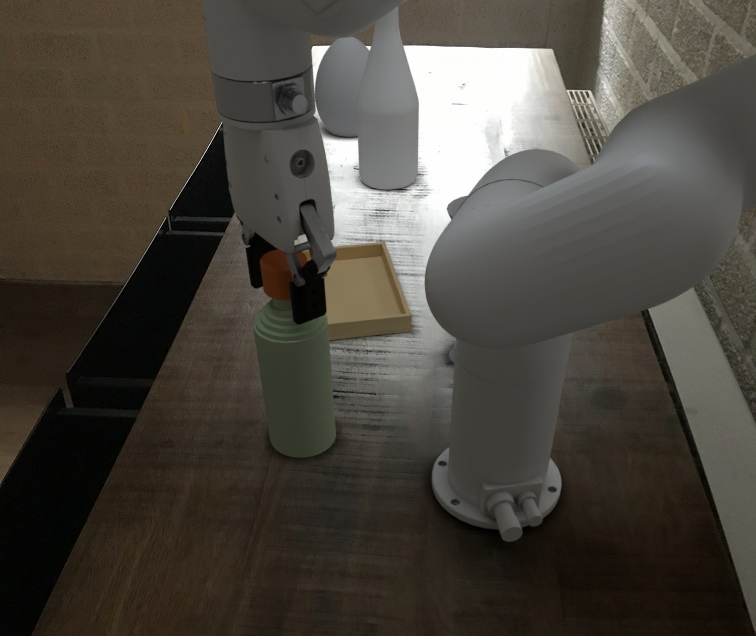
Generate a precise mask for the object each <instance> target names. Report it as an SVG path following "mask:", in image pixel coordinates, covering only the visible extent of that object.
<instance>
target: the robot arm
mask: <svg viewBox="0 0 756 636" xmlns="http://www.w3.org/2000/svg"><path fill="white" fill-rule="evenodd" d="M407 1H408V0H200V4H201V12H202V20H203V25H204V31H205V38H206V44H207V50H208V58H209V65H210V71H211V77H212V78H211V79H212V83H213V90H214V98H215V103H216V110H217V117H218V120H219V121H220V122H222V130H223V131H222V132H223V144H224V156H225V164H226V165H225V167H226V175H227V181H228V192H229V194H230V200H231V203H232V208H233V211H234V213H235V216H236V218H237V220H238V221H239V223H240V226H241V227H242V228H241V240H242V242H243V244H244V245H245V246H246V247H245V256H246V261H247V268H248V275H249V276H248V277H249V283H250V286H251V287H252V288H253V289H255V290H258V289H260V288H263V281H262V274H261V266H260V259H261V258H262V256H263V255H265V254H266V253H268V252H270V251H273V250H277V249H279V250H281V251H283V252H285V256H286V259H287V262H288V265H289V268H290V271H291V274H292V277H293V280H294V281H292V282H290V283H289V287H290V297H291V306H292V315H293V321H294V322H295V323H296V324H298V325H300V324H303V323H306V322H308V321H311V320H313V319H316V318H319V317H321V316H324V315H325V314H326V312H327V308H326V294H325V281H324V277H326V276H327V272H328V271H329V269H330V266H331V264H332V263H333V261H334V260H335V259H336V256H337V254H336V250H335V248H334V247H335V246H334V244H333V240H334V238H335V233H336V232H335V217H334V215H335V214H334V205H333V196H332V188H331V179H330V173H329V165H328V158H327V154H326V149H325V143H324V138H323V135H322V130H321V127H320V123H319V118H317V117H316V115H315V114H316V111H317V107H316V102H315V78H314V77H315V76H314V65H313V52H312V51H313V50H312V36H311V35H315V36H319V37H323V38H329V39H339V38H346V37H354V36H356V35H359V34H361V33H363V32H365V31H366V30H368V29H369V28H371V27H373V25H375V23H376V22H377V21H379V20H380V19H382V18H383V17H384V16H386V15H387V14H388V13H390V12H391V11H392V10H394V9H395V8H396V7H398V8H399V6H401V5H402V4H404V3H406V2H407ZM466 196H467V197H466V199H465V200H464V201H463V203H462V204H461V206H460V208H459V209H458V211H457V213H456V214H455V216H454V217H453V218H452V220H451V219H450V221H449V222H448V224H447V225H446V226H445V227H444V228H443V230H442V231H441V233H440V235H439V237H437V240H436V242H435V243H434V245H433V247H432V249H431V251H430V252H429V253H430V254H429V256H428V259H427V262H426V267H425V271H424V294H425V298H426V304H427V306H428V308H429V309H428V310H429V311H430V312H431V314H432V317H433V318H434V319H435V321H436V322H437V324H438V325H439V326H440V327H441V328H442V329H443V330H444V331H445V332H446V333H447V334H449V335H450V336H451V337H453V338H455V343H456V348H455V360H454V363H453V376H452V377H453V379H452V394H451V395H452V396H451V412H450V428H449V429H450V430H449V444H448V445H449V446H448V447H447V448H445V449H444V450H443V451H442V452H441V454H440V455H439V456H438V457H437V458H436V460H435V461H434V464H433V466H432V471H431V488H432V492H433V494H434V496H435V499H436V500H437V502H438V503H439V505H440V506H441V508H443V509H444V510H445V511H446V512H448V514H449V515H451V516H453V517H454V518H456V519H458V520H459V521H461V522H463V523H466V524H468V525H471V526H474V527H478V528H482V529H489V530H497V531H499V534H500V537H501V539H502V540H503V541H505V542H506V543H507V542H508V543H510V542H511V543H512V542H516V541H517V540H519V539H520V538H521V537H522V536H523V528H525V527H527V526H530V527H537V526H540V525H541V524H543V521H544V520H543V519H544V518H545V517H546V516H548V515H549V514H550V513H551V512H552V511H553V510H554V509H555V507H556V505H557V504H558V502H559V500H560V497H561V491H562V486H563V485H562V476H561V473H560V470H559V467H558V466H557V464H556V463H555V462H554V461H553V459H552V458H551V454H552V449H553V444H554V439H555V432H556V428H557V421H558V417H559V411H560V410H559V409H560V406H561V399H562V393H563V389H564V383H565V377H566V372H567V367H568V362H569V358H570V351H571V347H572V341H573V336H574V335H573V334H574V333H575V332H578V331H582V330H585V329H588V328H592V327H594V326H598V325H601V324H605V323H608V322H611V321H615V320H618V319H621V318H625V317H627V316H631V315H634V314H637V313H641V312H644V311H647V310H649V309H653V308H656V307H658V306H660V305H661V306H662V305H663V304H666V303H667V302H670V301H672V300H675V299H677V298H678V297H679V296H681V295H684V294H685V293H686V292H688V291H689V290H691V289H692V288H694V287H695V286H696V285H698V284H699V283H701V282H703V280H704V279H706V278H707V277H708V276H709V275H710V274H711V273H712V272H713V271H714V270H715V269H716V268H717V267H718V265H719V264H720V263H721V262H722V260H723V259H724V257H726V255H727V252H728V251H729V249H730V247H731V245H732V244H733V241H734V239H735V238H736V234H737V232H738V228H739V226H740V225H739V224H740V220H741V215H742V214H743V213H745V212H747V211H749V210H751V209H753V208H756V53H754V54H752V55H750V56H748V57H745V58H743V59H741V60H739V61H737V62H735V63H733V64H730V65H728V66H726V67H724V68H721V69H719V70H717V71H715V72H712V73H710V74H708V75H706V76H703V77H701V78H700V79H697V80H695V81H693V82H690V83H688V84H685V85H682V86H681V87H678V88H676V89H674V90H670V91H668V92H666V93H664V94H660V95H658V96H656V97H654V98H651V99H649V100H647V101H645V102H643V103H642V104H640V105H638V106H636V107H635V108H633V109H632V110H630V111H629V112H628V113H626V114H625V115H624V117H623V118H621V119H620V120H619V121H618V122H617V123H616V124H615V126H614V127H613V129H612V130H611V131H610V133H609V135H608V137H607V138H606V140H605V142H604V143H603V145H602V147H601V148H600V150H599V152H598V154H597V155H596V158H595V159H594V161H593V163H592V164H591V165H589V166H586V167H585V168H583V169H581V168H580V167H579V165H578V164H576V163H575V162H574V161H573V160H572V159H570V158H568V157H567V156H565V155H564V154H561V153H559V152H556V151H553V150H549V149H542V148H532V149H525V150H520V151H517V152H516V153H512V154H510V155H508V156H506V157H504V158H503V159H500V160H499V161H498V162H497V163H496V164H494V165H493V166H491V168H490V169H488V171H486V172H485V173H484V174H483V176H482V177H480V178H479V180H478V181H477V183H476V184H475V185H474V187H473V188H472V189H471V190H470V192H469V193H468V194H467V195H466ZM301 236H305V237H306V241H303V242H299V243H298V244H297V243H296V244H295V241H298V239H299V237H301ZM305 250H309V253H310V256H311V260H309V261H307V262H306V263H305V264H304V266H303V267H302V268H301V265H300V262H299V258H298V255H297V253H299V252H302V251H305Z"/></svg>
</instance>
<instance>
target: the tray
mask: <svg viewBox="0 0 756 636" xmlns="http://www.w3.org/2000/svg"><path fill="white" fill-rule="evenodd" d="M334 248H335V250H336V254H337V256H336V259H335V260H334V261H333V263H332V264H331V266H330V269H329V271H328V272H327V276H326V277H324V281H325V294H326V308H327V312H326V315H327V318H328V330H329V341H335V340H345V339H353V338H364V337H371V336H382V335H389V334H401V333H408V332H409V333H410V332H412V313H411V310H410V307H409V305H408V302H407V299H406V296H405V294H404V290H403V288H402V285H401V282H400V279H399V277H398V273H397V271H396V268H395V266H394V264H393V260H392V258H391V255H390V252H389V250H388V247H387V243H386V242H385V241H378V242H368V243H358V244H347V245H337V246H336V245H335V246H334ZM302 252H303V253H304V254H305V255H306V256H307V261H309V260H311V256H310V253H309V250H305V251H302Z"/></svg>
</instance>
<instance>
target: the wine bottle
mask: <svg viewBox="0 0 756 636" xmlns="http://www.w3.org/2000/svg"><path fill="white" fill-rule="evenodd" d="M399 13H400V12H399V6H398V7H396V8H395V9H394V10H392V11H391V12H390V13H388V14H387V15H386V16H384V17H383V18H382V19H380V20H379V21H377V22H376V23H375V24H374V30H373V37H372V41H371V45H370V49H369V51H370V52H369V56H368V60H367V63H366V67H365V71H364V75H363V78H362V82H361V85H360V89H359V94H358V98H357V127H358V136H357V149H358V151H357V154H358V174H359V178H360V180H361V182H362V183H364V185H366V186H368V187H370V188H373V189H377V190H386V191H388V190H399V189H403V188H405V187H408V186H409V185H411V184H412V183H414V182H415V181H416V179H417V177H418V173H419V131H420V130H419V129H420V127H419V126H420V123H419V122H420V120H419V119H420V116H419V115H420V102H419V101H420V100H419V96H418V92H417V87H416V84H415V81H414V78H413V75H412V70H411V69H410V65H409V61H408V57H407V54H406V51H405V47H404V43H403V40H402V36H401V30H400V19H399V18H400V16H399Z"/></svg>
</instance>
